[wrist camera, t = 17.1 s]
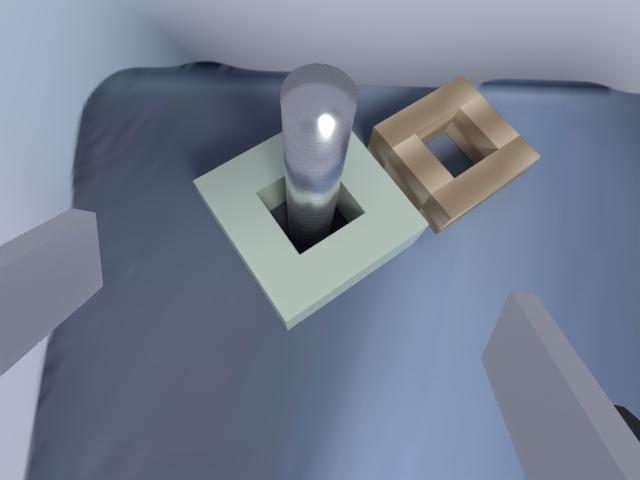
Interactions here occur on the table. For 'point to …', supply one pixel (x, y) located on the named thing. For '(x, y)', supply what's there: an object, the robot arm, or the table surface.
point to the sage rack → (328, 255)
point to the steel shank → (315, 145)
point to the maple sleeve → (468, 134)
